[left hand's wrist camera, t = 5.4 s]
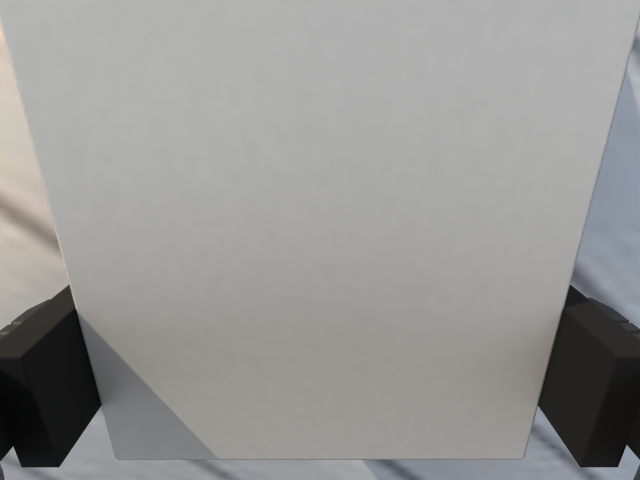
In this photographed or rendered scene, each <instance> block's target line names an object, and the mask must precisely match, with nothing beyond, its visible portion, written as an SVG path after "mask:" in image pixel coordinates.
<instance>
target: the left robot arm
mask: <svg viewBox="0 0 640 480" xmlns="http://www.w3.org/2000/svg"><path fill="white" fill-rule="evenodd" d="M538 406H539V407H540V409H541V410H542V412H543V413H544V414H545V416H546V417H547V419H548V420H549V422H550V423H551V425H552V426H553V428H554V429H555V431H556V432H557V434H558V435H559V436H560V438H561V439H562V441H563V442H564V444H565V445H566V447H567V448H568V450H569V451H570V453H571V454H572V456H573V457H574V458H575V460H576V461H577V463H578V464H579V466H580V467H618V465H619V463H620V460H621V457H622V455H623V452H624V450H625V447H626V445H628V446H629V448H630V449H631V450H632V451H633V452H634V453H635V455H636V456H637V457H638V458H639V459H640V329H639V328H638V327H636V326H635V325H634V324H632V323H629V321H628V320H627V319H626V318H624V317H623V316H622V315H620V314H619V313H618V312H617V311H615V310H614V309H613V308H611V307H608V306H606V305H604V304H602V303H600V302H598V301H596V300H594V299H592V298H586V297H585V296H584V295H582V294H581V293H580V292H579V291H577V290H576V289H575V288H574V287H572V286H571V285H570V286H569V289H568V293H567V297H566V301H565V304H564V308H563V312H562V316H561V320H560V323H559V327H558V331H557V335H556V339H555V342H554V346H553V350H552V354H551V358H550V361H549V365H548V369H547V373H546V376H545V380H544V384H543V388H542V392H541V395H540V399H539V403H538ZM100 407H101V402H100V398H99V394H98V390H97V386H96V383H95V379H94V375H93V371H92V368H91V364H90V360H89V356H88V353H87V349H86V345H85V341H84V337H83V334H82V330H81V326H80V322H79V319H78V315H77V311H76V307H75V303H74V300H73V296H72V292H71V288H70V285H68V286H67V287H66V288H65V289H63V290H62V291H61V292H60V293H58V294H57V295H56V296H55V297H53V298H52V299H51V300H47V301H45V302H43V303H41V304H39V305H37V306H34V307H32V308H30V309H28V310H27V311H25V312H24V313H23V314H21V315H20V316H19V317H18V318H16V319H15V320H14V321H12V322H11V325H7V326H6V327H5V328H3V329H2V330H1V331H0V461H1V460H2V459H3V458H4V456H5V455H6V454H7V453H8V452H9V450H10V449H11V448H12V447H13V446H14V449H15V451H16V454H17V456H18V459H19V461H20V464H21V467H60V465H61V464H62V462H63V461H64V459H65V458H66V456H67V455H68V453H69V452H70V451H71V449H72V448H73V446H74V445H75V443H76V442H77V440H78V439H79V437H80V436H81V434H82V433H83V431H84V430H85V429H86V427H87V426H88V424H89V423H90V421H91V420H92V418H93V417H94V415H95V414H96V412H97V411H98V409H99V408H100ZM0 480H4V474H3V470H2V467H1V465H0ZM633 480H640V465H639V467H638V470H637V472H636V475H635V477H634V479H633Z"/></svg>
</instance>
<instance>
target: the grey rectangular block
mask: <svg viewBox="0 0 640 480" xmlns="http://www.w3.org/2000/svg"><path fill="white" fill-rule="evenodd" d="M639 20H640V0H0V24H1V28H2V32H3V36H4V39H5V43H6V47H7V51H8V55H9V58H10V62H11V66H12V70H13V73H14V77H15V81H16V85H17V88H18V92H19V96H20V100H21V104H22V107H23V111H24V115H25V119H26V122H27V126H28V130H29V134H30V138H31V141H32V145H33V149H34V153H35V156H36V160H37V164H38V168H39V171H40V175H41V179H42V183H43V187H44V190H45V194H46V198H47V202H48V205H49V209H50V213H51V217H52V221H53V224H54V228H55V232H56V236H57V239H58V243H59V247H60V251H61V254H62V258H63V262H64V266H65V270H66V273H67V277H68V281H69V285H70V288H71V292H72V296H73V300H74V303H75V307H76V311H77V315H78V319H79V322H80V326H81V330H82V334H83V337H84V341H85V345H86V349H87V353H88V356H89V360H90V364H91V368H92V371H93V375H94V379H95V383H96V386H97V390H98V394H99V398H100V402H101V405H102V409H103V413H104V417H105V420H106V424H107V428H108V432H109V436H110V439H111V443H112V447H113V451H114V454H115V458H116V459H118V460H380V459H523V458H524V456H525V452H526V448H527V445H528V441H529V437H530V433H531V429H532V426H533V422H534V418H535V414H536V411H537V407H538V403H539V399H540V395H541V392H542V388H543V384H544V380H545V376H546V373H547V369H548V365H549V361H550V358H551V354H552V350H553V346H554V342H555V339H556V335H557V331H558V327H559V323H560V320H561V316H562V312H563V308H564V304H565V301H566V297H567V293H568V289H569V286H570V282H571V278H572V274H573V270H574V267H575V263H576V259H577V255H578V251H579V248H580V244H581V240H582V236H583V233H584V229H585V225H586V221H587V217H588V214H589V210H590V206H591V202H592V198H593V195H594V191H595V187H596V183H597V180H598V176H599V172H600V168H601V164H602V161H603V157H604V153H605V149H606V145H607V142H608V138H609V134H610V130H611V126H612V123H613V119H614V115H615V111H616V108H617V104H618V100H619V96H620V92H621V89H622V85H623V81H624V77H625V73H626V70H627V66H628V62H629V58H630V55H631V51H632V47H633V43H634V39H635V36H636V32H637V28H638V24H639Z"/></svg>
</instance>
